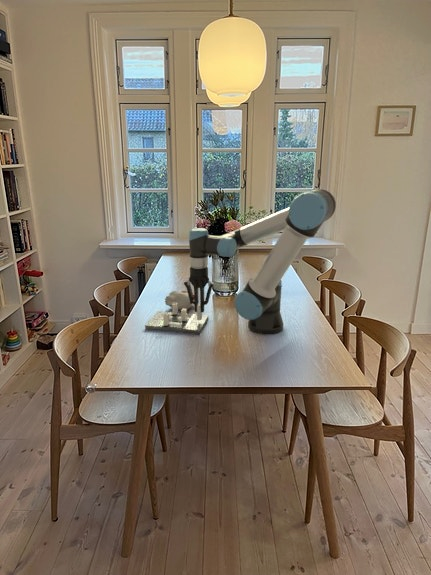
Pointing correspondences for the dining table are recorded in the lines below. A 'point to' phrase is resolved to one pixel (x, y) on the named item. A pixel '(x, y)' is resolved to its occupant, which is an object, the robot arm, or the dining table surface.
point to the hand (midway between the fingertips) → (199, 318)
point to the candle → (179, 299)
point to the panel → (177, 323)
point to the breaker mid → (184, 314)
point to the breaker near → (166, 319)
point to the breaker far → (174, 308)
